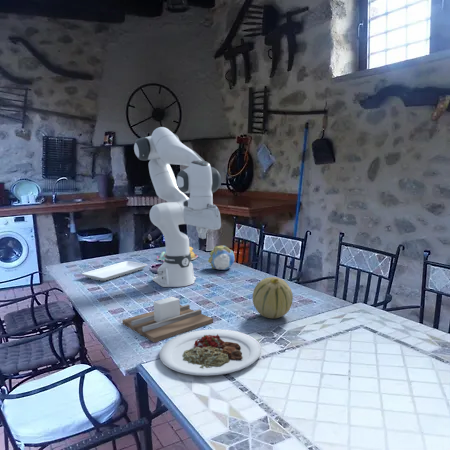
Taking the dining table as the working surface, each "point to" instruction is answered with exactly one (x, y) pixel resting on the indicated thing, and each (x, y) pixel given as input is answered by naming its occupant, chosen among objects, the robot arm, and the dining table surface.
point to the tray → (114, 270)
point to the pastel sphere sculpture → (161, 257)
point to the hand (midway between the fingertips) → (202, 238)
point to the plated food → (210, 352)
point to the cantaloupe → (272, 297)
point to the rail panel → (167, 324)
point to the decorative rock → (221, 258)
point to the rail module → (166, 308)
